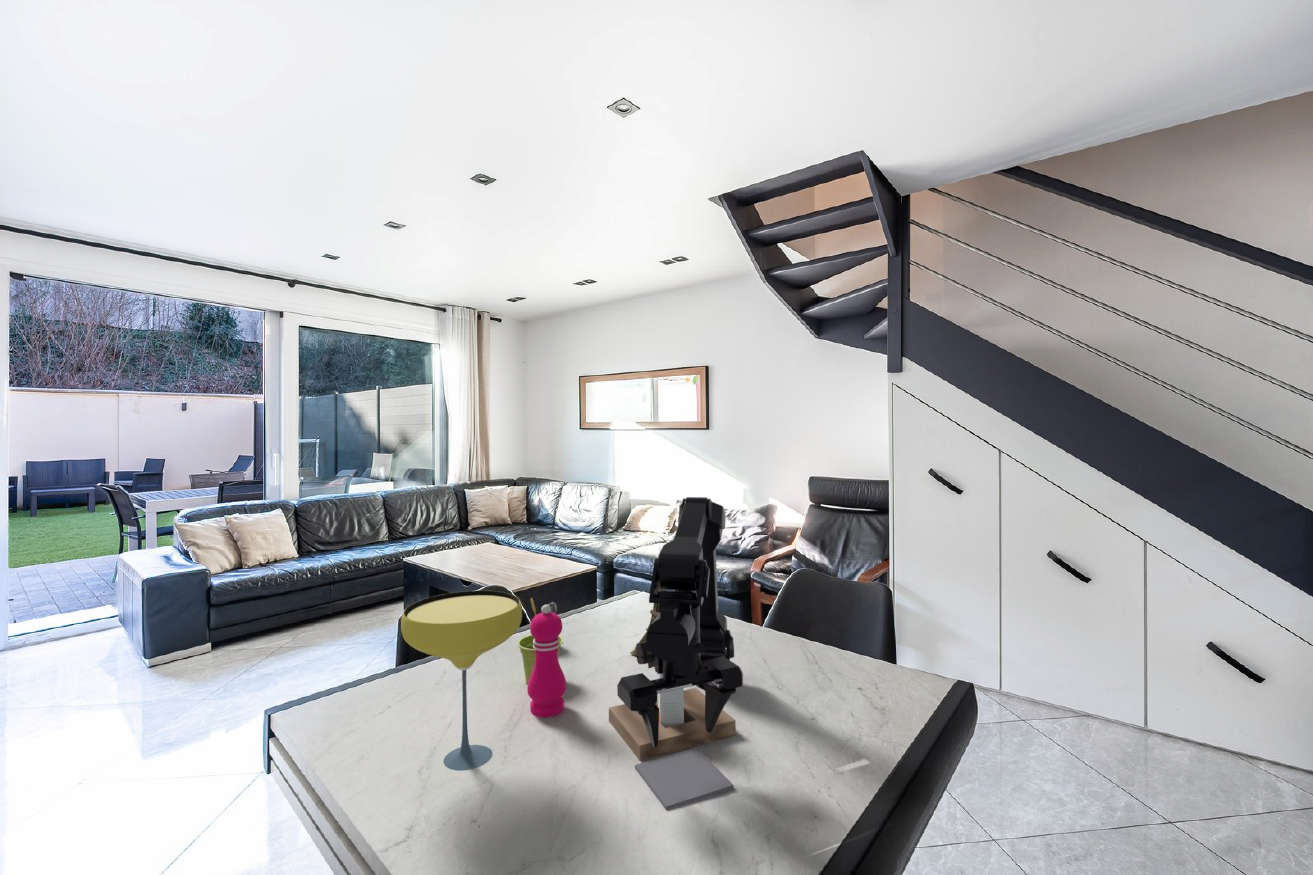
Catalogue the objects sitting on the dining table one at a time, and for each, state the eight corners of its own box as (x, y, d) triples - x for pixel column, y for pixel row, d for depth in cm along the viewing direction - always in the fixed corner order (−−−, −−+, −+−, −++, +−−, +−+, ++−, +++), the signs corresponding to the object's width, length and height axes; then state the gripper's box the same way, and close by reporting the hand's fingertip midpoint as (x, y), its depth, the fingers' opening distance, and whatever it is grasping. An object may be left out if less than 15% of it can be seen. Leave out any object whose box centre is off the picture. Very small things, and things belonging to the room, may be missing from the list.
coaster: (696, 751, 93) (696, 747, 93) (733, 789, 83) (733, 784, 83) (634, 768, 88) (634, 764, 88) (665, 811, 78) (665, 806, 78)
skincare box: (656, 720, 103) (656, 654, 103) (680, 718, 103) (679, 653, 103) (660, 738, 97) (659, 667, 97) (684, 736, 97) (684, 666, 97)
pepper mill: (558, 722, 103) (556, 611, 102) (521, 718, 104) (519, 609, 104) (572, 703, 110) (570, 600, 110) (537, 700, 111) (535, 598, 111)
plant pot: (568, 673, 124) (568, 633, 124) (556, 692, 114) (556, 649, 114) (526, 672, 125) (526, 632, 125) (511, 691, 115) (511, 648, 115)
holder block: (695, 700, 110) (695, 687, 110) (735, 734, 97) (735, 720, 97) (608, 721, 102) (608, 707, 102) (639, 761, 90) (639, 745, 90)
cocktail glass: (455, 814, 78) (453, 632, 78) (378, 774, 87) (376, 612, 87) (547, 751, 93) (545, 599, 93) (472, 723, 103) (470, 585, 102)
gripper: (707, 611, 96) (708, 702, 96) (604, 628, 88) (605, 728, 89) (744, 631, 86) (745, 733, 86) (631, 652, 78) (632, 765, 78)
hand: (682, 738), depth 85 cm, fingers open, 9 cm apart
